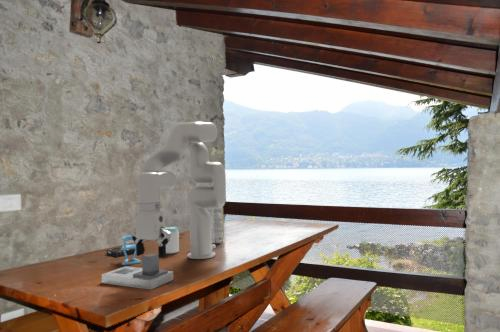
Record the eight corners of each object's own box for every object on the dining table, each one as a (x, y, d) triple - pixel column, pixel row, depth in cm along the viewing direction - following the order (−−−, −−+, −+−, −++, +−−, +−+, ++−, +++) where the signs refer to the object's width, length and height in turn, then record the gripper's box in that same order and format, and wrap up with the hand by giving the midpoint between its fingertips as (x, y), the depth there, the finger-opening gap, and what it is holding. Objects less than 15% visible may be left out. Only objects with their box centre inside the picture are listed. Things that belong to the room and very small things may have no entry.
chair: (139, 259, 173) (138, 232, 173) (141, 263, 165) (140, 234, 165) (121, 261, 170) (120, 233, 170) (122, 265, 162) (121, 236, 162)
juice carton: (224, 240, 211) (223, 196, 211) (222, 243, 203) (221, 198, 203) (207, 240, 212) (206, 197, 212) (204, 243, 204) (203, 198, 204)
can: (175, 254, 180) (174, 228, 180) (161, 254, 181) (160, 228, 181) (181, 251, 187) (180, 226, 187) (167, 251, 188) (167, 226, 188)
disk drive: (117, 258, 177) (145, 252, 189) (117, 252, 177) (145, 246, 189) (106, 255, 184) (133, 249, 195) (105, 249, 184) (133, 244, 195)
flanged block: (149, 277, 141) (148, 251, 141) (168, 279, 137) (167, 253, 137) (133, 284, 133) (132, 256, 133) (152, 286, 130) (152, 258, 130)
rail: (125, 274, 148) (125, 266, 148) (173, 279, 138) (172, 271, 138) (101, 282, 137) (101, 274, 137) (151, 289, 128) (151, 280, 128)
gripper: (176, 206, 135) (177, 255, 135) (137, 205, 142) (139, 251, 143) (162, 209, 128) (164, 260, 129) (122, 208, 136) (124, 256, 136)
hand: (151, 255), depth 136 cm, fingers open, 9 cm apart
